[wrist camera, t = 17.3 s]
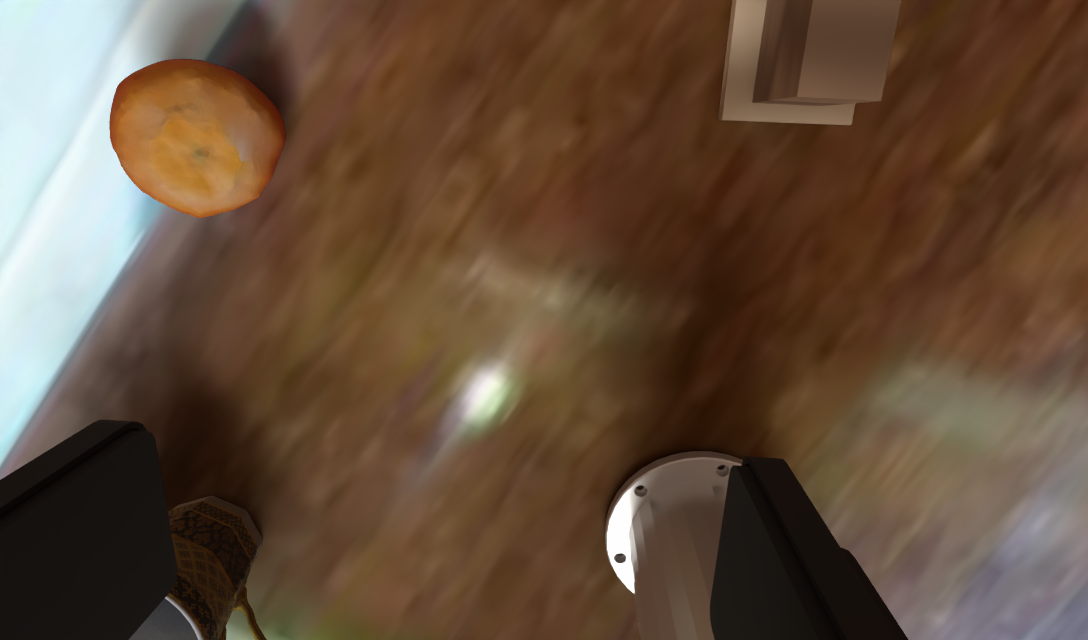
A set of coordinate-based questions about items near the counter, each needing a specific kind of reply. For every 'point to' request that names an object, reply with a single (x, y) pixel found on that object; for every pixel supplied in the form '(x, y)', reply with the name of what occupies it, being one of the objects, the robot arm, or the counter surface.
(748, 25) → the rest board
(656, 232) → the counter surface
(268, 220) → the counter surface
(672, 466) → the robot arm
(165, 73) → the fruit
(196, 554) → the ceramic cup
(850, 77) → the brown block
